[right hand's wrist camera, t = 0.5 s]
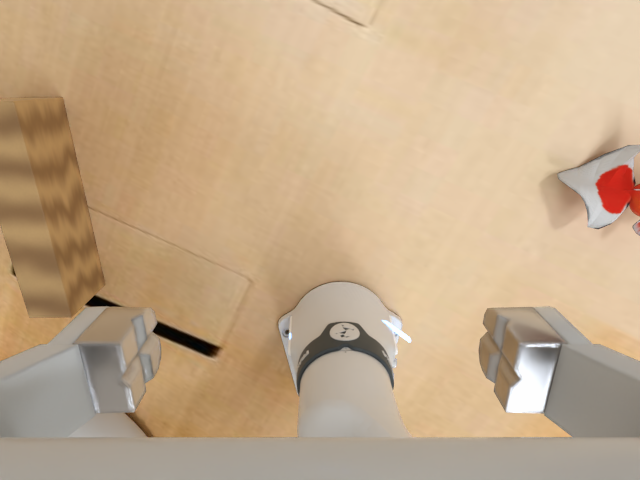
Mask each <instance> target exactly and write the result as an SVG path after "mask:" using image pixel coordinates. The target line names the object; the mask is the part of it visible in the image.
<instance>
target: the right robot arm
mask: <svg viewBox="0 0 640 480" xmlns="http://www.w3.org/2000/svg"><path fill="white" fill-rule="evenodd" d="M156 325H157V320H156V315H155V311H154V310H153V309H152V308H144V307H87V308H85V309H84V310H83V311H82V312H81V313H80V314H79V315H77V316H76V317H75V318H74V319H73V320H72V321H71V322H70V323H69V324H68V325H67V326H66V327H65V328H64V329H63V330H62V331H61V332H60V333H59V334H57V335H56V336H55V337H54V338H53V339H52V340H51V341H50V342H49V343H48V344H40V345H37V346H35V347H33V348H30V349H28V350H26V351H23V352H21V353H19V354H16V355H14V356H12V357H9V358H7V359H5V360H2V361H0V480H640V361H638V360H635V359H633V358H631V357H628V356H626V355H624V354H621V353H619V352H617V351H614V350H612V349H610V348H607V347H605V346H603V345H600V344H592V343H591V342H590V341H589V340H588V339H587V338H586V337H585V336H584V335H583V334H582V333H580V332H579V331H578V330H577V329H576V328H575V327H574V326H573V325H572V324H571V323H570V322H569V321H568V320H567V319H566V318H565V317H564V316H563V315H562V314H561V313H559V312H558V311H557V310H556V309H555V308H553V307H550V306H546V307H511V308H487V310H486V312H485V314H484V320H483V325H484V326H485V328H486V329H487V331H488V332H487V333H486V334H485V335H484V336H483V337H482V338H481V339H480V345H479V360H480V365H481V368H482V371H483V373H484V374H485V376H486V378H487V379H489V380H490V381H492V382H494V383H495V387H494V392H495V394H496V396H497V398H498V399H499V401H500V403H501V405H502V406H503V408H504V410H505V412H511V413H545V414H544V415H545V416H546V417H547V418H549V419H550V420H551V421H553V422H554V423H555V424H556V425H558V426H559V427H560V428H562V429H563V430H564V431H566V432H567V433H568V434H569V435H571V436H572V437H413V436H412V435H411V434H410V433H409V431H408V430H407V428H406V426H405V425H404V423H403V420H402V418H401V415H400V412H399V409H398V406H397V403H396V400H395V397H394V393H393V387H394V373H393V369H392V368H396V365H397V359H396V358H395V355H397V354H398V348H397V342H398V339H399V336H401V337H402V338H404V339H405V340H407V341H408V342H409V343H410V342H411V340H410V337H408V336H407V335H406V334H404V333H403V332H402V331H401V329H402V320H401V318H400V317H399V316H398V315H396V314H395V313H393V312H391V311H389V310H388V309H387V308H386V307H385V306H384V305H383V303H382V302H381V300H380V299H379V298H378V297H377V296H376V295H375V294H374V293H373V292H372V291H370V290H369V289H367V288H365V287H363V286H361V285H358V284H355V283H350V282H332V283H327V284H324V285H321V286H319V287H316V288H315V289H313V290H311V291H310V292H309V293H307V294H306V295H305V296H304V297H303V298H302V299H301V301H300V302H299V303H298V305H297V306H296V307H295V308H294V309H293V310H292V311H290V312H289V313H287V314H285V315H284V316H282V317H281V318H280V319H279V321H278V328H279V331H280V335H281V338H282V342H283V345H284V349H285V352H286V356H287V359H288V363H289V366H290V370H291V373H292V377H293V380H294V384H295V387H296V391H297V394H298V396H299V409H298V424H297V435H298V437H68V436H69V435H71V434H72V433H73V432H75V431H76V430H77V429H79V428H80V427H81V426H82V425H84V424H85V423H86V422H88V421H89V420H90V419H92V418H93V417H94V416H95V415H96V414H95V413H128V412H135V410H136V408H137V406H138V405H139V403H140V401H141V399H142V398H143V396H144V394H145V392H146V387H145V383H146V382H148V381H150V380H151V379H153V378H154V376H155V374H156V373H157V371H158V368H159V364H160V360H161V344H160V339H159V338H158V337H157V336H156V335H155V334H154V333H153V332H152V331H153V329H154V328H155V326H156ZM286 330H289V332H287V331H286Z"/></svg>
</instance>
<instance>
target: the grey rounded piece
mask: <svg viewBox="0 0 640 480" xmlns="http://www.w3.org/2000/svg"><path fill="white" fill-rule="evenodd" d="M95 414H96V415H95V416H94V417H93V418H92V419H90V420H89V421H88V422H86V423H85V424H84V425H82V426H81V427H80V428H79V429H77V430H76V431H75V432H73V433H72V434H71V435H69V436H68V437H147V436H146V434H145V433H144V432H143V431H142V430H141V429H140V428H139V427H138V426H137V425H136V424H135V423H134V422H133V421H132V420H131V419H130V418H129V417H128V416H127V415H126V414H125V413H95Z"/></svg>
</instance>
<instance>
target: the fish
mask: <svg viewBox="0 0 640 480" xmlns="http://www.w3.org/2000/svg"><path fill="white" fill-rule="evenodd" d="M639 152H640V145H628V146H625V147H623V148H620V149H617V150H614V151H612V152H609V153H606V154H604V155H602V156H600V157H598V158H596V159H594V160H592V161H590V162H588V163H586V164H584V165H582V166H580V167H577V168H573V169H569V170H566V171H563V172H560V173H558V174H557V175H558V179H559V180H561V181H562V182H563V183H565V184H566V185H567V186H569V187H570V188H571V189H573V190H574V191H575V192H577V193H578V194H579V195H580V196H581V197H582V199H583V201H584V202H585V205H586V209H587V214H588V227H590V228H595V229H600V228H602V227H605V226H607V225H609V224H611V223H612V222H614V221H615V220H616V219H617V218H618V217H619V216H620V215H621V214H622V213H623V211H624V210H625V209H626V208H627V207H628V206H630V209H631V210H632V212H633V213H635V214H636V215H638V216H640V184H639V185H637V186H635V178H634V173H633V167H634V157H635V156H636V155H637V154H638V153H639ZM634 186H635V187H634ZM633 229H634V231H635V232H636V233H637V234H638V235H639V236H640V220H639V221H638V222H636V223H635V224H634V225H633Z"/></svg>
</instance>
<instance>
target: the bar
mask: <svg viewBox="0 0 640 480" xmlns="http://www.w3.org/2000/svg"><path fill="white" fill-rule="evenodd" d="M0 226H1V229H2V232H3V235H4V238H5V242H6V245H7V248H8V251H9V254H10V257H11V261H12V264H13V267H14V270H15V273H16V276H17V280H18V283H19V286H20V289H21V292H22V295H23V299H24V302H25V305H26V308H27V311H28V314H29V317H30V318H56V317H72V316H74V315H75V314H76V313H77V312H78V311H79V310H80V309H81V308H82V307H83V306H84V305H85V304H86V303H87V302H88V301H89V300H90V299H91V298H92V297H93V296H94V295H95V294H96V293H97V292H98V291H99V290H100V289H101V288H102V287H103V286H104V285H105V281H104V277H103V273H102V268H101V264H100V259H99V255H98V251H97V246H96V242H95V237H94V233H93V229H92V224H91V220H90V216H89V211H88V207H87V202H86V198H85V194H84V189H83V185H82V180H81V176H80V172H79V167H78V163H77V158H76V154H75V150H74V145H73V141H72V136H71V132H70V128H69V123H68V119H67V114H66V110H65V106H64V101H63V97H20V98H5V99H0Z"/></svg>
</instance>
